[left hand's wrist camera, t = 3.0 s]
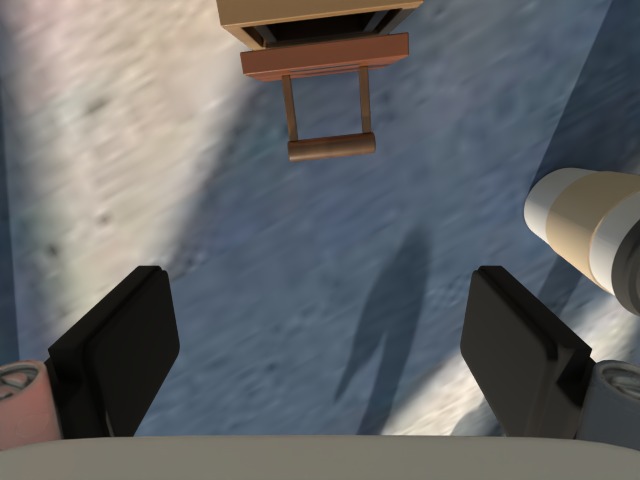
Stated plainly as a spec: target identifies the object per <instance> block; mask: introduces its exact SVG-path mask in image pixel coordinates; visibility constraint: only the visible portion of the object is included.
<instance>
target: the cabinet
mask: <svg viewBox="0 0 640 480" xmlns="http://www.w3.org/2000/svg"><path fill="white" fill-rule="evenodd" d="M216 1H217V7H218V12H219V18H220V24H221V26H222V27H223V28H224V29H226V30H227V31H228V32H230V33H231V34H232V35H234V36H235V37H236V38H238V39H239V40H240V41H241V42H243V43H244V44H245V45H247V46H248V47H249V48H251V49H252V51H256V50H264V49H273V48H281V47H289V46H298V45H306V44H315V43H323V42H332V41H340V40H348V39H357V38H365V37H374V36H382V35H389V33H390V32H391V31H392V30H393V29H394V28H396V27H397V26H398V25H399V24H400V23H401V22H402V21H403V20H404V19H405V18H406V17H407V16H409V15H410V14H411V13H412V12H413V11H414V10H415V9H416V8H417V7H418V6H419V5H421V4H422V3H423V2H424V0H216ZM389 9H390V10H389ZM380 10H389V11H388V12H387V14H386V15H385V16H384V17H383V19H382V20H381V21H380V22H379V24H378V25H377V26H376V27H375V28H374V30H373V31H372V32H366V33H357V34H349V35H341V36H332V37H324V38H316V39H307V40H299V41H290V42H282V43H274V44H268V43H267V41H266V40H265V39H264V38H263V37H262V36H261V35H260V34H259V32H258V31H257V30H256V29H255V28H254V27H253V26H256V25H265V24H273V23H281V22H290V21H298V20H306V19H314V18H323V17H331V16H339V15H347V14H356V13H364V12H372V11H380Z"/></svg>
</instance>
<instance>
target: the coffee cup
mask: <svg viewBox="0 0 640 480" xmlns="http://www.w3.org/2000/svg"><path fill="white" fill-rule="evenodd" d="M524 216H525V221H526V223H527V225H528V227H529V228H530V229H531V230H532V231H533V232H534V233H535V234H537V235H538V236H539V237H540V238H542V239H543V240H544V241H546V242H547V243H548V244H549V245H550V246H551V247H552V248H553V250H554V251H556V252H557V253H558V254H559V255H560V256H562V257H563V258H564V259H566V260H567V261H568V262H569V263H571V264H572V265H573V266H574V267H576V268H577V269H578V270H579V271H581V272H582V273H583V274H584V275H586V276H587V277H588V278H589V279H591V280H592V281H593V282H595V283H596V284H597V285H598V286H600V287H601V288H602V289H604V290H605V291H607V292H609V293H611V294H613V295H615V296H616V298H617V299H618V301H619V302H620V304H621V305H622V306H623V307H624V308H625V309H627V310H628V311H629V312H631V313H633V314H635V315H637V316H640V175H633V174H626V173H619V172H612V171H601V172H599V171H592V170H586V169H579V168H563V169H559V170H556V171H553V172H551V173H549V174H548V175H546V176H545V177H543V178H542V179H541V180H540V181H539V182H537V184H536V185H535V186H534V187H533V188H532V190H531V191H530V193H529V195H528V197H527V199H526V202H525V207H524Z"/></svg>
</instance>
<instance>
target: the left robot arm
mask: <svg viewBox="0 0 640 480" xmlns="http://www.w3.org/2000/svg"><path fill="white" fill-rule="evenodd" d="M179 349H180V343H179V337H178V331H177V325H176V319H175V313H174V307H173V301H172V295H171V290H170V284H169V278H168V273H167V271H165V270H162V269H161V267H160V266H138V267H137V268H136V269H135V270H133V271H132V272H131V273H130V274H129V275H128V276H127V277H126V278H125V279H124V280H123V281H121V282H120V283H119V284H118V285H117V286H116V287H115V288H114V289H113V290H112V291H111V292H109V293H108V294H107V295H106V296H105V297H104V298H103V299H102V300H101V301H100V302H99V303H97V304H96V305H95V306H94V307H93V308H92V309H91V310H90V311H89V312H88V313H87V314H85V315H84V316H83V317H82V318H81V319H80V320H79V321H78V322H77V323H76V324H75V325H73V326H72V327H71V328H70V329H69V330H68V331H67V332H66V333H65V334H64V335H63V336H61V337H60V338H59V339H58V340H57V341H56V342H55V343H54V344H53V345H52V346H51V347H49V348H48V351H49V354H50V357H49V358H48V359H47V360H46V361H45V362H44V363H42V362H40V361H37V360H23V361H16V362H13V363H9V364H5V365H3V366H0V480H640V366H637V365H635V364H631V363H627V362H624V361H617V360H603V361H600V362H598V363H596V362H595V361H594V360H593V359H592V358H591V357H590V354H591V351H592V348H591V347H589V346H588V345H587V344H586V343H585V342H584V341H583V340H582V339H581V338H580V337H579V336H577V335H576V334H575V333H574V332H573V331H572V330H571V329H570V328H569V327H568V326H567V325H565V324H564V323H563V322H562V321H561V320H560V319H559V318H558V317H557V316H556V315H555V314H553V313H552V312H551V311H550V310H549V309H548V308H547V307H546V306H545V305H544V304H543V303H541V302H540V301H539V300H538V299H537V298H536V297H535V296H534V295H533V294H532V293H531V292H529V291H528V290H527V289H526V288H525V287H524V286H523V285H522V284H521V283H520V282H519V281H517V280H516V279H515V278H514V277H513V276H512V275H511V274H510V273H509V272H508V271H507V270H505V269H504V268H503V267H502V266H480V267H479V269H478V270H475V271H473V273H472V278H471V284H470V290H469V295H468V301H467V307H466V313H465V319H464V325H463V331H462V337H461V343H460V349H461V354H462V356H463V358H464V360H465V362H466V364H467V365H468V367H469V369H470V371H471V373H472V374H473V376H474V378H475V380H476V382H477V383H478V385H479V387H480V389H481V391H482V392H483V394H484V396H485V398H486V400H487V401H488V403H489V405H490V407H491V409H492V410H493V412H494V414H495V416H496V418H497V419H498V421H499V423H500V425H501V427H502V428H503V430H504V432H505V434H506V436H507V437H486V436H407V435H233V436H154V437H133V436H134V434H135V432H136V430H137V428H138V427H139V425H140V423H141V421H142V419H143V418H144V416H145V414H146V412H147V410H148V409H149V407H150V405H151V403H152V401H153V400H154V398H155V396H156V394H157V392H158V391H159V389H160V387H161V385H162V383H163V382H164V380H165V378H166V376H167V374H168V373H169V371H170V369H171V367H172V365H173V364H174V362H175V360H176V358H177V356H178V354H179Z"/></svg>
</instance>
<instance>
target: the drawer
mask: <svg viewBox="0 0 640 480" xmlns="http://www.w3.org/2000/svg"><path fill="white" fill-rule="evenodd" d="M389 10H390V9H389ZM389 10H380V11H372V12H364V13H356V14H347V15H339V16H331V17H323V18H314V19H306V20H298V21H290V22H281V23H273V24H265V25H256V26H253V27H254V28H255V29H256V30H257V31H258V32H259V34H260V35H261V36H262V37H263V38H264V39H265V40H266V41H267V43H268V44H274V43H282V42H290V41H299V40H307V39H316V38H324V37H332V36H341V35H349V34H357V33H366V32H372V31H373V30H374V28H375V27H376V26H377V25H378V24H379V22H380V21H381V20H382V19H383V17H384V16H385V15H386V14H387V12H388V11H389ZM408 55H409V34H408V33H399V34H390V35H382V36H374V37H365V38H357V39H348V40H340V41H332V42H323V43H315V44H306V45H298V46H289V47H281V48H273V49H264V50H256V51H247V52H241V53H240V57H241V63H242V69H243V74H244V75H246V76H249V77H252V78H255V79H258V80H261V81H264V82H266V81H275V80H282V85H283V93H284V100H285V108H286V115H287V123H288V130H289V138H290V141H288V155H289V160H290V162H295V161H304V160H314V159H323V158H332V157H341V156H351V155H360V154H369V153H374V152H375V136H374V133H373V132H371V118H370V99H369V80H368V70H370V69H378V68H383V67H386V66H388V65H390V64H392V63H394V62H396V61H398V60H400V59H402V58H404V57H406V56H408ZM353 71H359V86H360V102H361V118H362V132H363V133H359V134H349V135H340V136H331V137H322V138H313V139H304V140H298V133H297V125H296V117H295V109H294V101H293V93H292V85H291V79H292V78H301V77H309V76H318V75H327V74H335V73H344V72H353Z"/></svg>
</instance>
